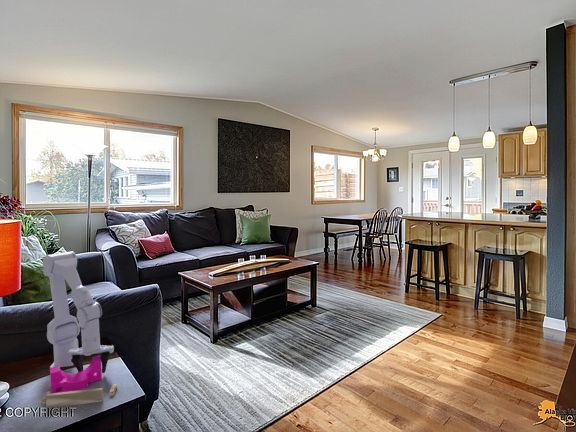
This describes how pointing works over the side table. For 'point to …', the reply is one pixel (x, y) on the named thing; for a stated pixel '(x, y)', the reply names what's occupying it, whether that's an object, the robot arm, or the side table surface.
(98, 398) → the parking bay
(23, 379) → the side table surface
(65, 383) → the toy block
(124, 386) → the side table surface
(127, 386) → the side table surface
